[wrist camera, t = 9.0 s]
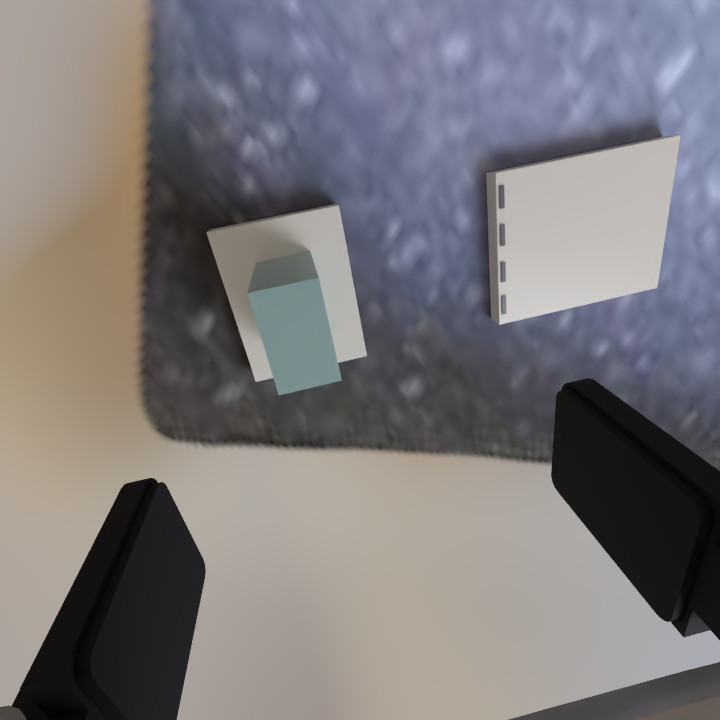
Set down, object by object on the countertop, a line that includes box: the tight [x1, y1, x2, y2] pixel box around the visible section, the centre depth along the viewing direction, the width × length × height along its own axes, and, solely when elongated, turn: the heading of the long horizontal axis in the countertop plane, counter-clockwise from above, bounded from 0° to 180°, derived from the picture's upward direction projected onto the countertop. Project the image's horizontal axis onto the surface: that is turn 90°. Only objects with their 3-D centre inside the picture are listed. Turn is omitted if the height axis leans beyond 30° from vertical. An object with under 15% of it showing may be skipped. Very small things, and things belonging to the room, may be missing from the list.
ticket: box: [486, 135, 680, 325], centre depth 26 cm, size 9×11×1 cm
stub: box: [206, 204, 367, 395], centre depth 22 cm, size 9×7×7 cm
